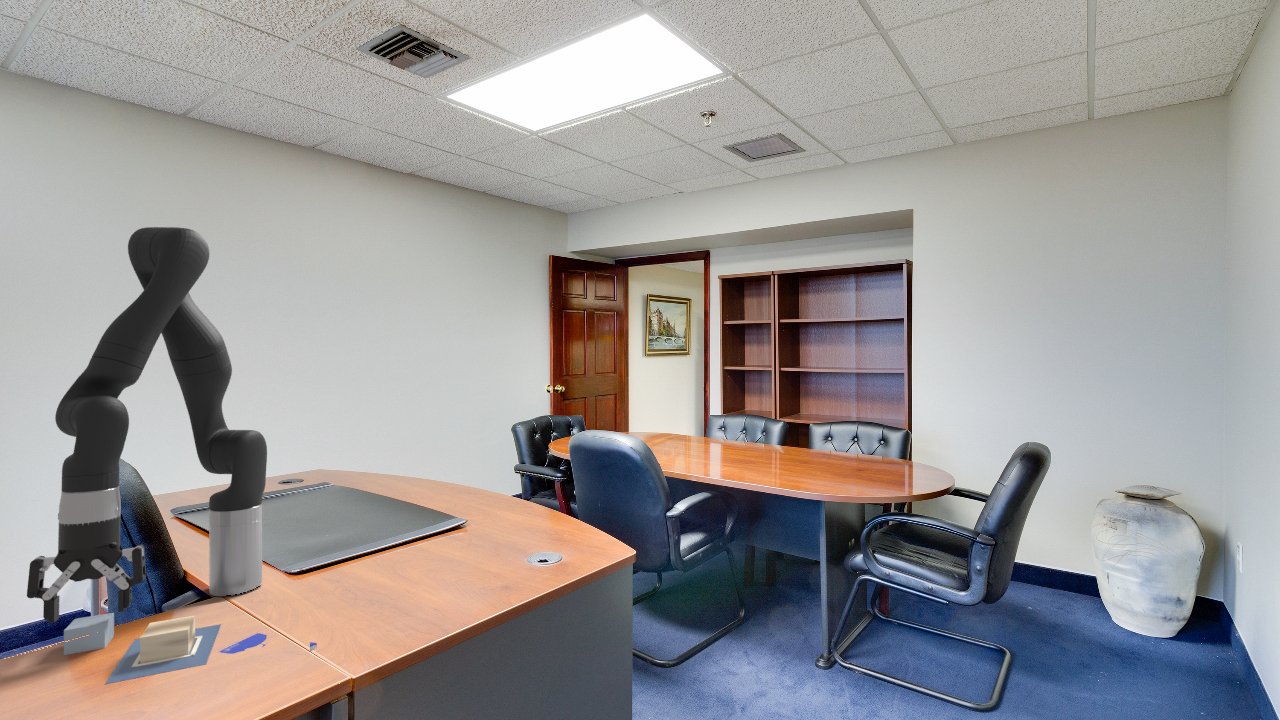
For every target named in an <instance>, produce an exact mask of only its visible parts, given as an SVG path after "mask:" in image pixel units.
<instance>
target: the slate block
mask: <svg viewBox="0 0 1280 720" xmlns="http://www.w3.org/2000/svg"><path fill="white" fill-rule="evenodd" d="M97 632H98V633H97ZM86 635H89V636H86ZM82 636H85V637H82ZM114 636H115V612H110V613H103V614H97V615H91V616H84V617H78V618H74V619H73V620H72V621H71V622H70V623H69V624H68V626H67V627H66V628H65V629H64V630H63V656H67V655H73V654H78V653H84V652H89V651H96V650H101V649H105V648H106V647H107V646H108V645H109V644H110V642H111V640H112V639H113V638H114ZM79 637H81V638H79ZM75 638H78V639H75ZM72 639H74V640H72ZM68 640H70V641H68ZM65 641H68V642H65ZM64 642H65V643H64Z"/></svg>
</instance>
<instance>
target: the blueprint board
mask: <svg viewBox="0 0 1280 720" xmlns="http://www.w3.org/2000/svg"><path fill="white" fill-rule="evenodd" d="M221 626H222V623H219V624H214V625H209V626H207V625H206V626H203V627H197V628H196V627H195V641H194V643H193V645H192V648H191V650H190V652H189V654H188V655H184V656H179V657H173V658H168V659H163V660H157V661H152V662H147V663H142V664H140V637H139V638H134V640H133V641H132V642H131V644H130V645H129V647H128V649H127V650H126V652H125V653H124V655H123V656H122V658H121V659H120V660H119V662H118V663H117V665H116V666H115V668H114V670H113V671H112V672H111V674H110V675H109V677H108V679H107V680H106V681H105V683H104V685H108V684H114V683H119V682H120V683H121V682H123V681H129V680H133V679H139V678H145V677H149V676H154V675H155V676H156V675H160V674H163V673H165V674H166V673H169V672H173V671H179V670H184V669H189V668H190V669H191V668H193V667H194V668H195V667H200V666H204V665H207V663H208V661H209V657H210V656H211V652H212V650H213V647H214V646H215V645H214V644H215V642H216V639H217V637H218V634H219V631H220V629H221Z"/></svg>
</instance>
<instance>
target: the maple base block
mask: <svg viewBox="0 0 1280 720" xmlns="http://www.w3.org/2000/svg"><path fill="white" fill-rule="evenodd" d="M195 629H196V615H189V616H185V617H184V616H183V617H178V618H173V619H172V618H171V619H166V620H160V621H153V622H149V624H148V625H147V627H146V628H145V630H144V632H142V634H141V635H140V637H139V638H140V664H142V663H147V662H152V661H157V660H163V659H168V658H173V657H179V656H184V655H188V654H189V652H190V650H191V648H192V645H193V643H194V641H195Z"/></svg>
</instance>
